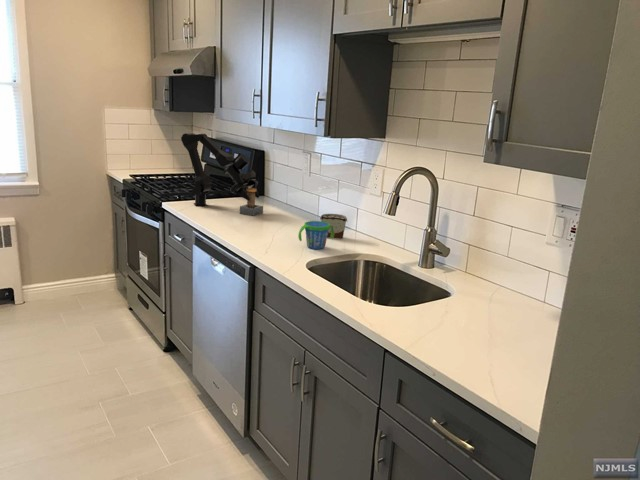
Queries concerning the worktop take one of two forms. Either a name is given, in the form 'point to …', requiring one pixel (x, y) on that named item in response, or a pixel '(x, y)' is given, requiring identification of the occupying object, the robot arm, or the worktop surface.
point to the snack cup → (316, 234)
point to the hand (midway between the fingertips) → (254, 198)
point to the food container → (335, 224)
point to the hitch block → (251, 210)
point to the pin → (251, 197)
